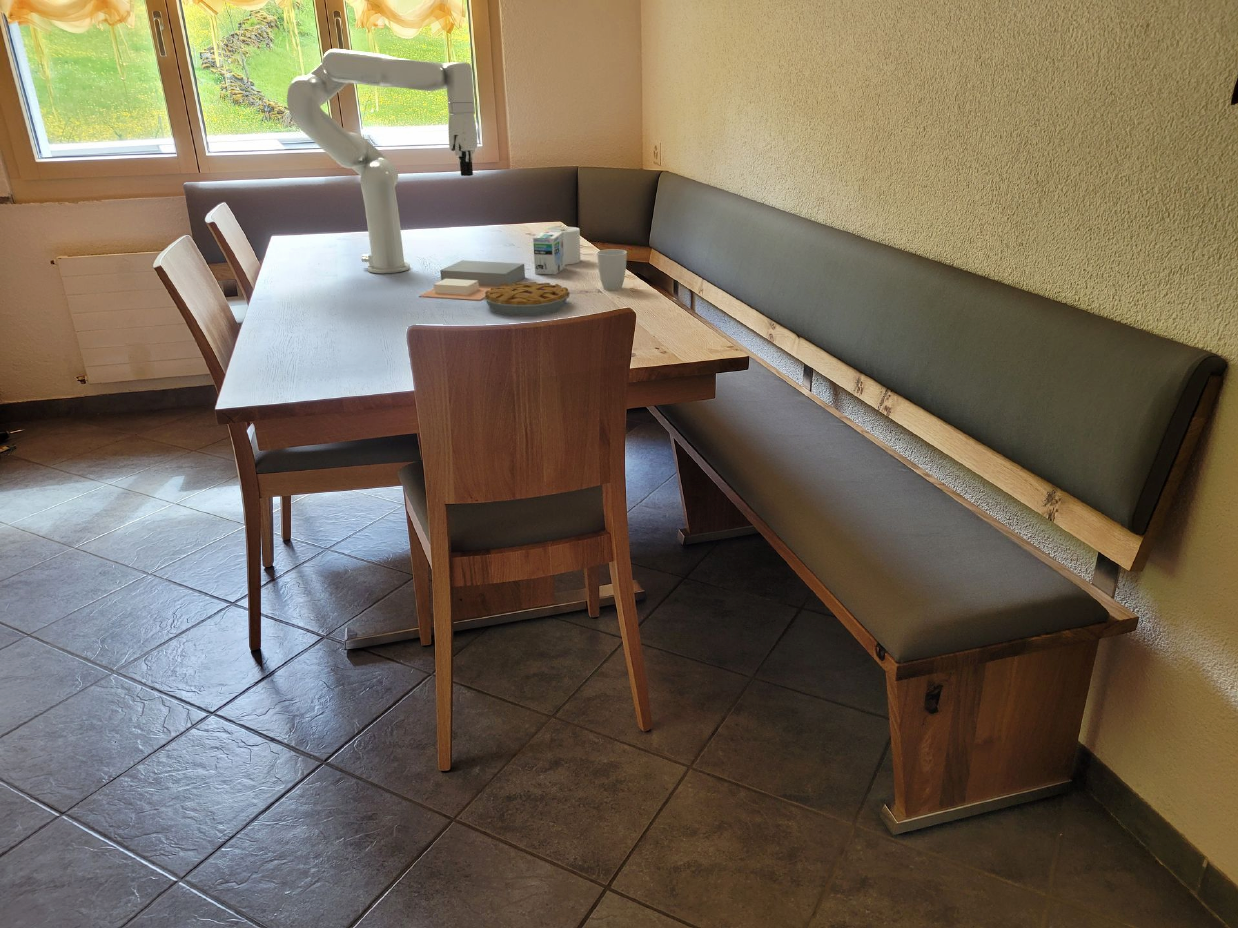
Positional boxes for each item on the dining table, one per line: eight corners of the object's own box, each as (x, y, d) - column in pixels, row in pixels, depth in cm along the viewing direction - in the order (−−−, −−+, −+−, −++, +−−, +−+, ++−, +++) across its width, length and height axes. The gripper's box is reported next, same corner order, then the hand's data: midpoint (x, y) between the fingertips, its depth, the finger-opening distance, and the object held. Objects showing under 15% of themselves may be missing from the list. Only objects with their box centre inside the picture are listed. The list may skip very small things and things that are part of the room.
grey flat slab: (441, 284, 251) (440, 270, 250) (463, 273, 263) (462, 260, 262) (506, 288, 246) (505, 273, 244) (525, 277, 258) (524, 263, 256)
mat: (419, 296, 238) (419, 295, 238) (444, 284, 251) (444, 283, 251) (479, 300, 233) (479, 299, 233) (502, 288, 246) (502, 286, 246)
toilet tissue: (560, 266, 271) (559, 233, 267) (537, 261, 279) (536, 229, 275) (587, 261, 277) (586, 229, 273) (564, 256, 286) (562, 225, 281)
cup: (630, 286, 246) (630, 250, 242) (621, 292, 239) (621, 255, 235) (603, 284, 249) (603, 248, 245) (593, 290, 242) (592, 254, 238)
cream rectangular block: (445, 278, 246) (446, 287, 247) (433, 284, 240) (434, 292, 241) (478, 280, 243) (478, 289, 244) (466, 286, 237) (467, 295, 238)
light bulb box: (555, 275, 260) (554, 238, 256) (534, 274, 262) (532, 237, 257) (565, 267, 270) (563, 231, 265) (544, 267, 271) (542, 231, 267)
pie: (536, 322, 214) (535, 302, 212) (467, 311, 224) (466, 292, 222) (586, 303, 231) (585, 284, 229) (519, 293, 241) (518, 275, 239)
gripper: (461, 108, 261) (466, 172, 269) (437, 110, 248) (444, 178, 256) (484, 108, 259) (489, 173, 267) (461, 110, 246) (467, 179, 254)
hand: (467, 175), depth 261 cm, fingers closed
